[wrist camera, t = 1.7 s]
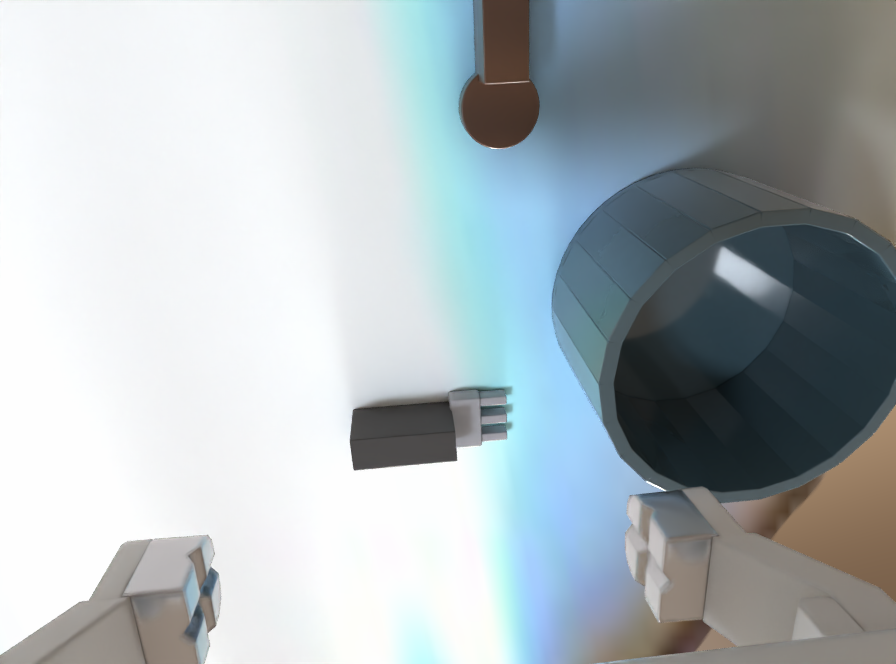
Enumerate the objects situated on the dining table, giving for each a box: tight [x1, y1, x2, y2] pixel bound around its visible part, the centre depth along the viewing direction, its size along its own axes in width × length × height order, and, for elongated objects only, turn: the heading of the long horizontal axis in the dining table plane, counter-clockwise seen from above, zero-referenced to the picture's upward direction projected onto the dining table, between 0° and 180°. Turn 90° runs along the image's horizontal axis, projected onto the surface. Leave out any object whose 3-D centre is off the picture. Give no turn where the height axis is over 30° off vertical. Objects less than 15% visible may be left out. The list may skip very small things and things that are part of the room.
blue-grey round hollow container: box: [552, 168, 896, 503], centre depth 29 cm, size 13×13×8 cm
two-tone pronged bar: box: [350, 390, 507, 470], centre depth 34 cm, size 8×3×3 cm, turn 93°
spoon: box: [459, 0, 540, 149], centre depth 27 cm, size 8×3×3 cm, turn 3°
